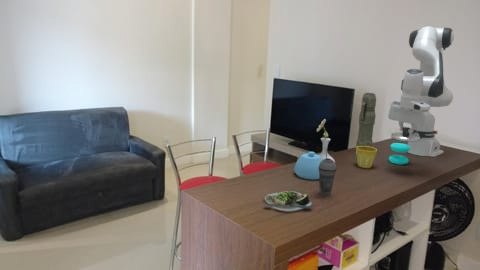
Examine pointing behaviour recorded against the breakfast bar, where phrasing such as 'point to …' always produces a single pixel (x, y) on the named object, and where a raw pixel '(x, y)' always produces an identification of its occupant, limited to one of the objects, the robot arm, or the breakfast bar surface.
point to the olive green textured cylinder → (366, 120)
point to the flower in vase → (324, 143)
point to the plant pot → (365, 156)
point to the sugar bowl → (308, 166)
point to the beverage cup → (326, 176)
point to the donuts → (402, 149)
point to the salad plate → (288, 201)
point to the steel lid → (405, 136)
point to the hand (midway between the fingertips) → (406, 131)
